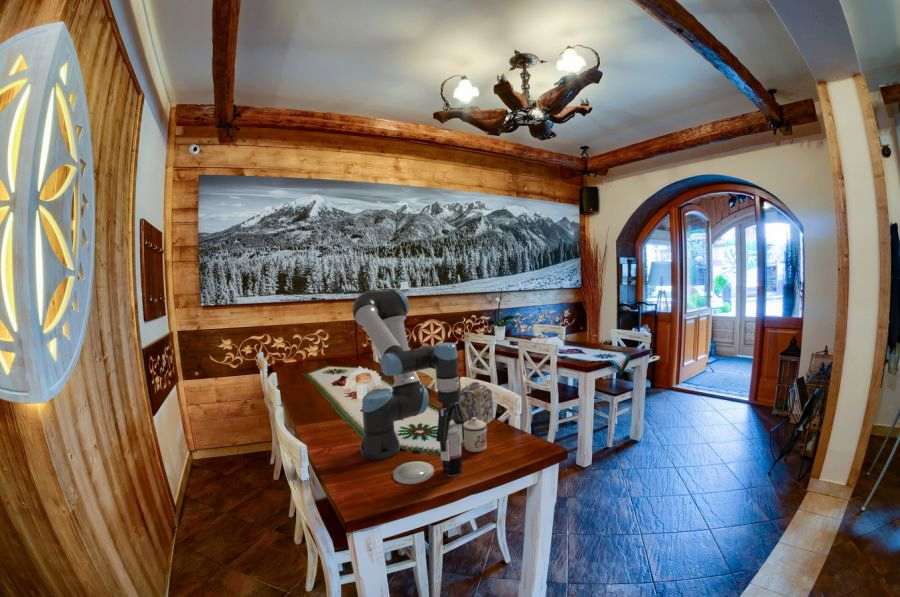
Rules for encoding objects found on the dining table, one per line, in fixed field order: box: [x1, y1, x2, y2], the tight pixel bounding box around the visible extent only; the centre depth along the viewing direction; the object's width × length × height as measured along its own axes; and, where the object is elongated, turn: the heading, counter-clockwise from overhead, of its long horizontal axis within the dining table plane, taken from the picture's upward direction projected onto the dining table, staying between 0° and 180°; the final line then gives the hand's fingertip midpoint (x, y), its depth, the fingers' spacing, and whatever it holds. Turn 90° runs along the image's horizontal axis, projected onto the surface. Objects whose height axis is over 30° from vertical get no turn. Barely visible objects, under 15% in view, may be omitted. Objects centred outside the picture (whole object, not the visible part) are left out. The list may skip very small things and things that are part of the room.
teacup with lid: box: [462, 417, 488, 453], centre depth 146 cm, size 12×9×12 cm
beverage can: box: [442, 424, 463, 477], centre depth 127 cm, size 6×7×15 cm
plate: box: [392, 460, 435, 485], centre depth 128 cm, size 14×14×1 cm
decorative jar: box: [459, 381, 494, 426], centre depth 170 cm, size 12×12×18 cm
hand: (452, 450), depth 127 cm, fingers open, 13 cm apart
